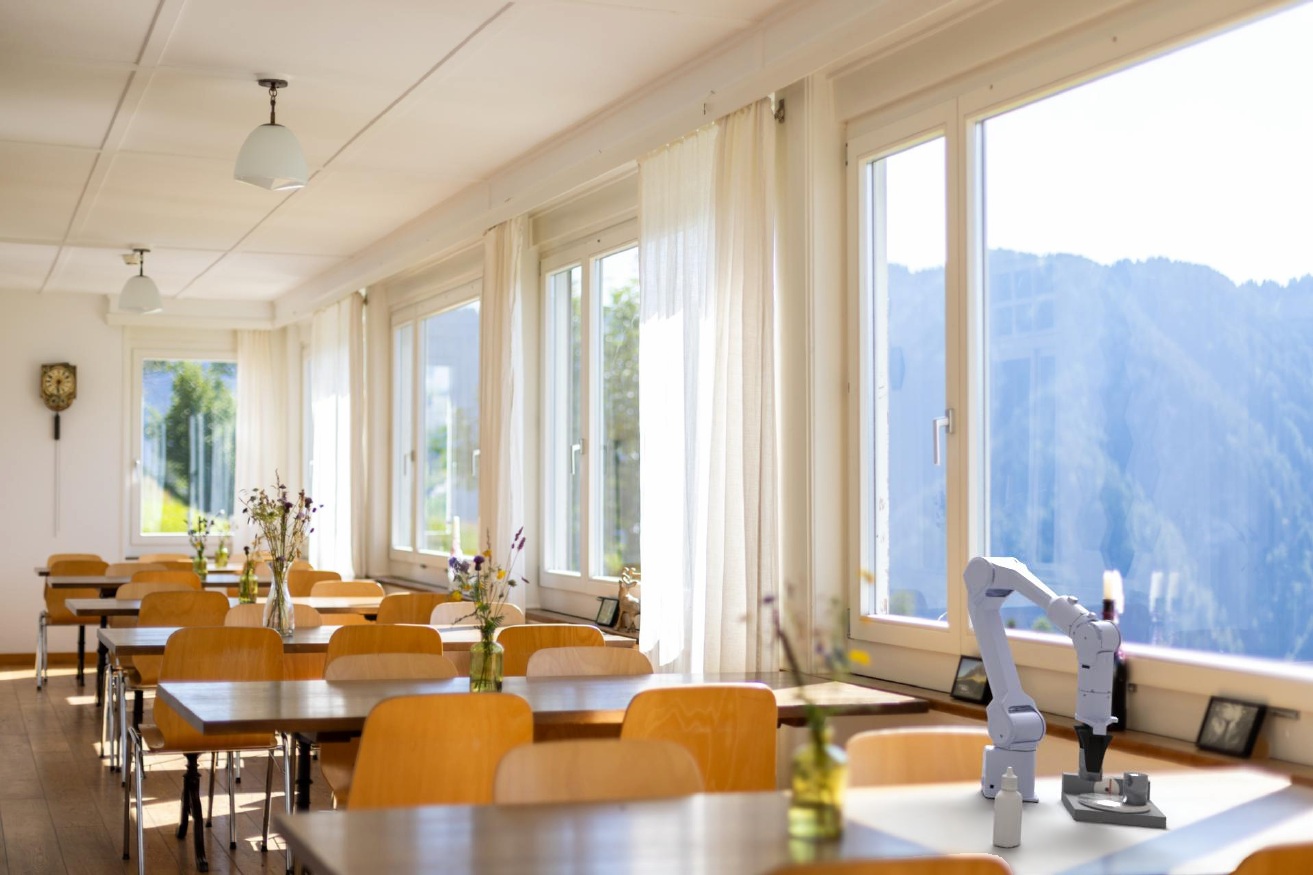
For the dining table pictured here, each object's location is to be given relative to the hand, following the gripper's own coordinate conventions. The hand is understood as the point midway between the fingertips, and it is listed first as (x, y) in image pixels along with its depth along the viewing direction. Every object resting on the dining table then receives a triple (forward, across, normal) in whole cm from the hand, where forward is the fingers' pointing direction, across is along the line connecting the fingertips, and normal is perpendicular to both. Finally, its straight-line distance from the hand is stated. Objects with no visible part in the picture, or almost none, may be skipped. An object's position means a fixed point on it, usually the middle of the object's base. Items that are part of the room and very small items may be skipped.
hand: (1090, 769), depth 226 cm
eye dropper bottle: (+8, -23, +16) cm, 29 cm away
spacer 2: (+6, +4, -8) cm, 11 cm away
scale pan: (+6, +4, -5) cm, 9 cm away
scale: (+8, +5, -5) cm, 11 cm away
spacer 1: (+2, 0, 0) cm, 2 cm away
